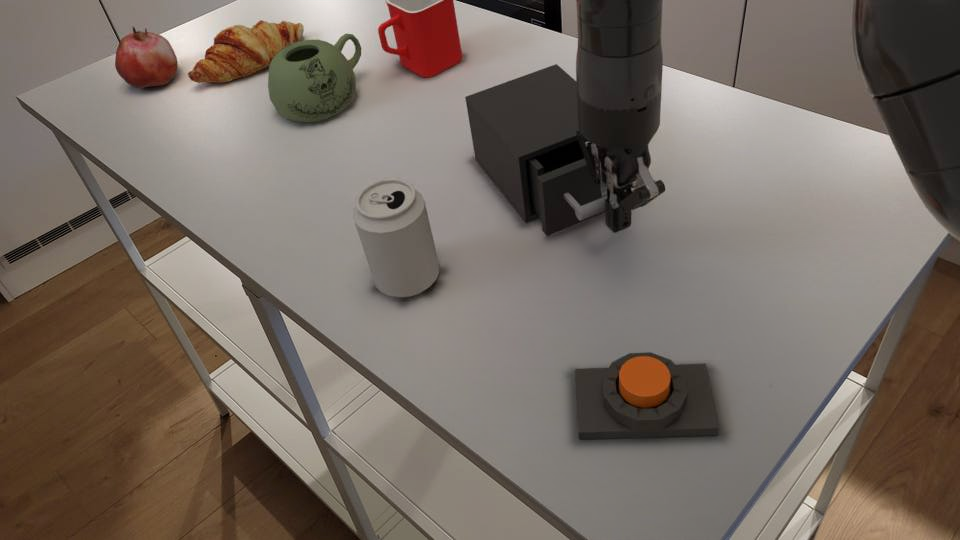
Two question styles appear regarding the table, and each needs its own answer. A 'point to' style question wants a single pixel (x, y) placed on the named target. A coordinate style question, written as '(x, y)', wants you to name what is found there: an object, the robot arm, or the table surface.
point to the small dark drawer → (562, 188)
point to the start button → (644, 382)
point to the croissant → (244, 50)
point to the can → (396, 237)
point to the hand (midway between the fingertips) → (618, 226)
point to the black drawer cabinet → (522, 128)
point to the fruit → (145, 59)
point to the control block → (617, 418)
